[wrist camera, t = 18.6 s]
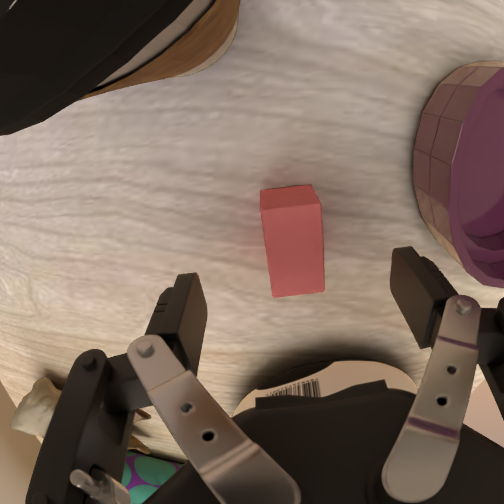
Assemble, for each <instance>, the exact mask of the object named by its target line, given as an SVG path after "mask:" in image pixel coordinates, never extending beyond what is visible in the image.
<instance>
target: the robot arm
mask: <svg viewBox="0 0 504 504" xmlns="http://www.w3.org/2000/svg"><path fill="white" fill-rule="evenodd" d="M390 289H391V293H392V295H393V297H394V299H395V301H396V303H397V304H398V306H399V308H400V310H401V312H402V314H403V316H404V318H405V319H406V321H407V323H408V325H409V327H410V329H411V331H412V333H413V335H414V337H415V339H416V341H417V343H418V345H419V347H420V349H423V348H427V347H431V349H432V353H431V356H430V359H429V362H428V364H427V367H426V370H425V373H424V376H423V378H422V381H421V384H420V386H419V389H418V391H417V394H414V393H412V392H409V391H406V390H401V389H395V388H388V387H387V384H386V382H385V379H383V380H378V381H373V382H368V383H363V384H357V385H353V386H351V387H348V388H346V389H343V390H341V391H338V392H336V393H333V394H331V395H328V396H325V397H310V396H298V395H279V396H268V397H255V407H253V408H249V409H247V410H244V411H242V412H240V413H238V414H236V415H235V416H233V417H232V418H230V417H229V416H228V415H227V413H226V412H225V411H224V410H223V409H222V408H221V407H220V405H219V404H218V403H217V402H216V401H215V400H214V398H213V397H212V396H211V395H210V394H209V393H208V391H207V390H206V389H205V388H204V387H203V385H202V384H201V383H200V382H199V380H198V379H197V378H196V377H197V371H198V365H199V360H200V354H201V349H202V343H203V338H204V332H205V327H206V321H207V304H206V301H205V297H204V294H203V290H202V287H201V283H200V280H199V276H198V274H197V273H187V274H179V275H178V276H177V279H176V281H175V284H174V287H169V288H167V289H166V290H165V291H164V292H163V293H162V294H161V295H160V297H159V299H158V302H157V306H156V307H155V309H154V313H153V314H152V317H151V320H150V322H149V325H148V327H147V330H146V332H145V335H144V336H142V337H139V338H137V339H136V340H134V341H133V342H132V343H131V344H130V346H129V347H128V349H127V353H125V354H121V355H118V356H114V357H110V358H107V356H106V355H105V353H104V352H103V351H102V350H99V349H92V350H88V351H86V352H84V353H82V354H81V355H80V356H79V357H78V358H77V359H76V360H75V362H74V364H73V366H72V368H71V371H70V373H69V375H68V378H67V380H66V382H65V385H64V387H63V390H62V392H61V395H60V397H59V400H58V402H57V405H56V407H55V410H54V412H53V415H52V418H51V420H50V423H49V426H48V429H47V431H46V434H45V437H44V440H43V443H42V446H41V449H40V452H39V455H38V458H37V461H36V465H35V468H34V471H33V474H32V478H31V481H30V484H29V488H28V492H27V495H26V500H25V502H26V503H25V504H131V497H130V494H129V492H128V490H127V489H126V488H125V487H124V486H123V485H122V478H123V473H124V467H125V462H126V456H127V451H128V446H129V441H130V436H131V431H132V426H133V421H134V417H135V412H136V409H139V408H143V407H148V406H151V405H154V407H155V409H156V410H157V412H158V414H159V415H160V417H161V419H162V420H163V422H164V423H165V425H166V427H167V428H168V430H169V431H170V433H171V434H172V436H173V437H174V439H175V440H176V442H177V443H178V445H179V446H180V448H181V449H182V451H183V452H184V454H185V455H186V457H187V458H188V459H189V460H188V461H187V462H186V463H185V464H184V465H183V466H182V467H180V468H179V469H178V470H177V471H176V472H175V473H174V474H173V475H172V476H171V477H170V478H169V479H168V480H167V481H166V482H165V483H164V484H162V485H161V486H160V487H159V488H158V489H157V490H156V491H155V492H154V493H153V494H152V495H150V496H149V497H148V498H147V499H146V500H145V501H144V502H143V503H141V504H504V448H503V447H501V446H500V445H498V444H497V443H495V442H493V441H492V440H490V439H488V438H487V437H485V436H483V435H482V434H480V433H478V432H477V431H475V430H473V429H472V428H470V427H468V426H467V425H465V424H463V420H464V417H465V413H466V409H467V406H468V402H469V398H470V393H471V389H472V385H473V380H474V375H475V370H476V365H477V364H479V366H480V368H481V370H482V372H483V374H484V376H485V379H486V381H487V383H488V385H489V387H490V389H491V392H492V394H493V396H494V398H495V401H496V403H497V405H498V408H499V410H500V412H501V415H502V418H503V420H504V297H503V298H502V299H500V301H499V303H498V306H497V308H480V305H479V304H478V302H477V301H476V300H474V299H473V298H471V297H469V296H466V295H459V294H458V293H457V292H456V290H455V289H454V288H453V286H452V285H451V284H450V283H449V281H448V280H447V279H446V278H445V277H444V275H443V274H442V273H441V271H439V269H438V268H437V266H436V265H435V264H434V263H433V262H432V261H430V260H429V259H427V258H426V257H424V256H422V257H420V256H419V255H418V253H417V252H416V251H415V250H414V248H413V247H411V246H408V247H401V248H395V249H394V250H393V253H392V264H391V274H390Z"/></svg>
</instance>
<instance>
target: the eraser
mask: <svg viewBox="0 0 504 504" xmlns="http://www.w3.org/2000/svg"><path fill="white" fill-rule="evenodd" d="M260 212H261V219H262V226H263V232H264V239H265V246H266V254H267V261H268V268H269V275H270V282H271V289H272V296H273V297H274V298H275V297H284V296H293V295H301V294H309V293H317V292H324V291H325V276H324V248H323V227H322V210H321V203H320V201H319V199H318V197H317V195H316V193H315V191H314V189H313V187H312V185H301V186H292V187H284V188H275V189H267V190H261V191H260Z"/></svg>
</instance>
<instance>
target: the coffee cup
mask: <svg viewBox="0 0 504 504" xmlns="http://www.w3.org/2000/svg"><path fill="white" fill-rule="evenodd" d="M239 4H240V0H0V136H1V135H10V134H12V133H15V132H17V131H20V130H22V129H25V128H27V127H30V126H32V125H35V124H38V123H40V122H43V121H45V120H46V119H48V118H49V117H51V116H53V115H54V114H56V113H57V112H59V111H61V110H62V109H64V108H65V107H67V106H69V105H70V104H72V103H74V102H76V101H79V100H82V99H85V98H88V97H92V96H95V95H99V94H102V93H106V92H109V91H113V90H117V89H121V88H125V87H129V86H133V85H137V84H142V83H146V82H151V81H156V80H161V79H166V78H173V77H180V76H186V75H191V74H194V73H196V72H199V71H202V70H203V69H205V68H207V67H209V66H211V65H212V64H213V63H215V62H216V61H217V60H218V59H220V58H221V56H222V55H223V54H224V53H225V52H226V51H227V50H228V48H229V46H230V45H231V43H232V41H233V39H234V36H235V33H236V30H237V23H238V11H239Z"/></svg>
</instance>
